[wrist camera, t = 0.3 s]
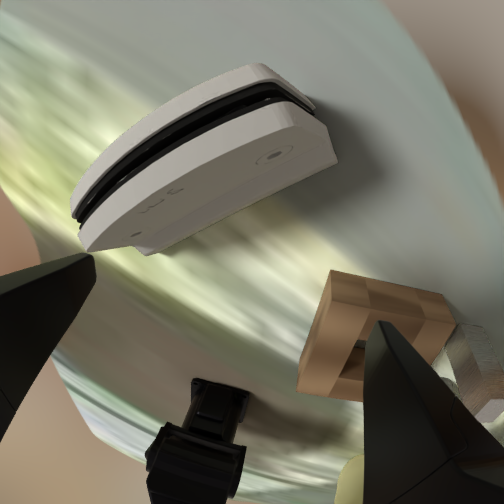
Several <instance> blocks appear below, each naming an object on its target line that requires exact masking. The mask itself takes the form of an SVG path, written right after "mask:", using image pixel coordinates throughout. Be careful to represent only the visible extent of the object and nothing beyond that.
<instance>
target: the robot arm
mask: <svg viewBox="0 0 504 504" xmlns="http://www.w3.org/2000/svg"><path fill="white" fill-rule="evenodd" d="M96 277H97V276H96V269H95V261H94V257H93V256H92V255H90V254H87V253H78V254H75V255H71V256H67V257H64V258H60V259H57V260H53V261H50V262H46V263H43V264H40V265H36V266H33V267H29V268H26V269H23V270H20V271H16V272H13V273H10V274H6V275H3V276H0V442H1V440H2V438H3V436H4V434H5V432H6V430H7V429H8V427H9V425H10V423H11V421H12V419H13V417H14V415H15V414H16V411H17V410H18V408H19V406H20V404H21V403H22V401H23V399H24V397H25V396H26V394H27V392H28V390H29V389H30V387H31V385H32V384H33V382H34V380H35V379H36V377H37V376H38V374H39V372H40V371H41V369H42V367H43V366H44V364H45V363H46V361H47V360H48V358H49V356H50V355H51V353H52V352H53V350H54V349H55V347H56V346H57V344H58V343H59V341H60V340H61V338H62V337H63V335H64V334H65V332H66V331H67V329H68V328H69V326H70V325H71V323H72V322H73V320H74V319H75V317H76V316H77V314H78V312H79V311H80V309H81V307H82V305H83V303H84V302H85V300H86V298H87V296H88V295H89V293H90V291H91V290H92V288H93V286H94V285H95V282H96ZM248 399H249V393H248V392H246V391H242V390H237V389H233V388H229V387H226V386H222V385H218V384H214V383H211V382H207V381H204V380H200V379H197V378H193V379H192V382H191V405H190V408H189V410H188V412H187V415H186V417H185V420H184V422H183V425H182V427H179V426H176V425H173V424H172V423H170V422H167V423H166V425H165V426H164V427H161V428H160V430H159V433H158V435H157V437H156V439H155V440H154V441H153V443H152V444H151V445H150V447H149V448H148V449H147V450H146V452H145V458H146V459H147V463H146V464H147V465H146V471H148V472H149V475H148V477H147V480H146V484H147V488H148V492H149V497H150V501H151V504H226V500H227V498H231V499H233V497H234V496H235V493H236V491H237V488H238V485H239V482H240V478H241V474H242V469H243V464H244V459H245V453H246V448H247V446H243V445H242V446H240V445H236V444H233V441H234V437H235V434H236V430H237V427H238V423H242V422H243V418H244V414H245V411H246V407H247V403H248ZM363 410H364V486H363V504H504V447H503V446H502V445H501V444H500V443H499V442H498V441H497V440H496V439H495V438H494V437H493V436H492V435H491V434H490V433H489V432H488V431H487V430H486V429H485V428H484V426H483V425H482V424H481V423H480V422H479V421H478V420H477V419H476V418H475V417H474V416H473V415H472V414H471V412H470V411H469V410H468V409H467V408H466V407H465V406H464V404H463V403H462V402H461V401H460V400H459V398H458V397H457V396H455V394H454V393H453V391H452V390H451V389H450V388H449V387H448V386H447V384H446V383H445V382H444V381H443V380H442V379H441V378H440V376H439V375H438V374H437V373H436V372H435V371H434V370H433V368H432V367H431V366H430V365H429V364H428V363H427V362H426V360H425V359H424V358H423V357H422V356H421V355H420V354H419V353H418V352H417V350H416V349H415V348H414V347H413V346H412V345H411V344H410V343H409V342H408V340H407V339H406V338H405V337H404V336H403V335H402V334H401V333H400V332H399V331H398V330H397V328H396V327H395V326H394V325H393V324H392V323H391V322H389V321H384V320H377V321H376V322H375V324H374V326H373V328H372V331H371V333H370V335H369V337H368V339H367V342H366V346H365V364H364V380H363Z"/></svg>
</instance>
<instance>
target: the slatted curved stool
mask: <svg viewBox="0 0 504 504" xmlns="http://www.w3.org/2000/svg"><path fill="white" fill-rule="evenodd" d="M363 486H364V454H362V455H358V456H356V457H354V458H352V459H351V460H350V461H349V462H347V464H346V465H345V466H344V468H343V469H342V471H341V473H340V476H339V479H338V485H337V492H336V497H335V501H334V504H363Z"/></svg>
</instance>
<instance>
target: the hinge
mask: <svg viewBox="0 0 504 504" xmlns="http://www.w3.org/2000/svg"><path fill="white" fill-rule="evenodd" d="M314 109H316V107H315V106H314V105H313V104H312V103H311V101H310V100H309V99H308V98H307V97H306V96H305V95H304V94H303V93H301V92H300V91H299V90H298V89H296V88H295V87H294V86H293V85H291V84H290V83H289V82H287V81H286V80H285V79H283V78H282V77H281V76H280V75H278V74H277V73H276V72H274V71H273V70H271V69H270V68H269V67H267V66H266V65H264V64H261V63H253V64H248V65H246V66H243V67H240V68H237V69H235V70H232V71H229V72H227V73H224V74H222V75H219V76H217V77H215V78H212V79H210V80H208V81H206V82H204V83H201V84H199V85H197V86H195V87H193V88H192V89H190V90H188V91H186V92H184V93H182V94H181V95H179V96H177V97H175V98H173V99H172V100H170V101H168V102H167V103H165V104H163V105H162V106H160V107H158V108H157V109H155V110H154V111H152V112H151V113H149V114H148V115H147V116H145V117H144V118H143V119H141V120H140V121H138V122H137V123H136V124H135V125H133V126H132V127H131V128H129V129H128V130H127V131H126V132H124V133H123V134H122V135H121V136H120V137H118V138H117V139H116V140H115V141H114V142H113V143H112V144H111V145H110V146H109V147H108V148H106V149H105V150H104V152H103V153H102V154H101V155H100V156H99V157H98V158H97V159H96V160H95V161H94V162H93V164H92V165H91V166H90V167H89V168H88V169H87V171H86V172H85V174H84V175H83V176H82V178H81V179H80V181H79V182H78V184H77V186H76V187H75V189H74V191H73V193H72V196H71V198H70V206H71V216H72V218H73V219H77V222H78V223H81V225H80V227H79V229H80V231H79V233H78V237H79V239H80V241H81V243H82V245H83V246H84V248H85V250H86V251H87V252H95V251H102V250H108V249H114V248H120V247H127V246H133V247H135V248H136V249H137V250H138V251H139V252H141V253H142V254H143V255H145V256H149V255H152V254H156V253H159V252H161V251H163V250H165V249H167V248H168V247H170V246H172V245H174V244H176V243H178V242H180V241H182V240H183V239H185V238H187V237H189V236H191V235H193V234H195V233H197V232H199V231H201V230H202V229H204V228H206V227H208V226H210V225H212V224H214V223H216V222H218V221H220V220H222V219H224V218H226V217H228V216H230V215H232V214H234V213H236V212H238V211H240V210H242V209H244V208H246V207H248V206H250V205H252V204H254V203H256V202H258V201H260V200H262V199H264V198H266V197H268V196H270V195H272V194H274V193H276V192H278V191H280V190H282V189H284V188H286V187H288V186H290V185H292V184H294V183H296V182H299V181H301V180H303V179H305V178H307V177H309V176H311V175H313V174H315V173H318V172H320V171H322V170H324V169H326V168H328V167H330V166H333V165H335V164H337V163H338V160H337V157H336V154H335V153H334V150H333V147H332V143H331V140H330V137H329V133H328V130H327V127H326V125H324V124H323V123H322V122H320V121H319V120H317V119H316V118H314V117H313V115H315V114H314V112H313V111H312V110H314Z"/></svg>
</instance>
